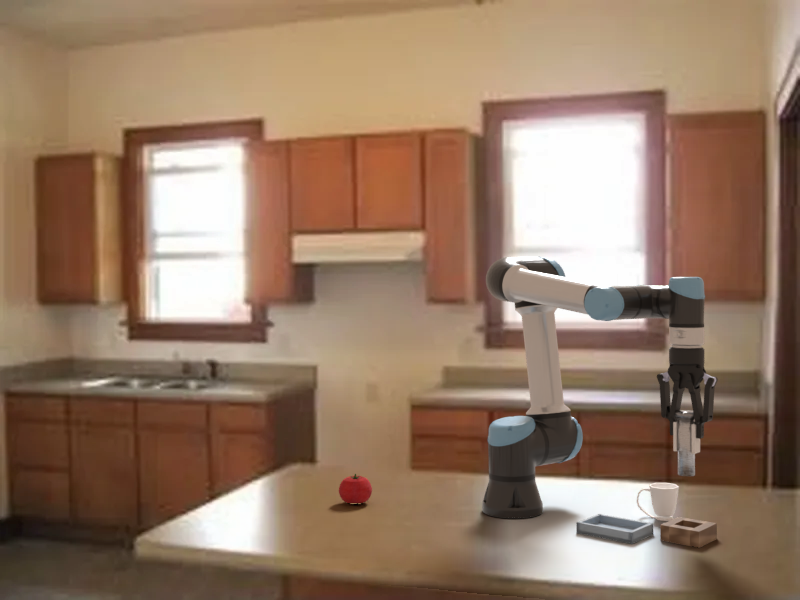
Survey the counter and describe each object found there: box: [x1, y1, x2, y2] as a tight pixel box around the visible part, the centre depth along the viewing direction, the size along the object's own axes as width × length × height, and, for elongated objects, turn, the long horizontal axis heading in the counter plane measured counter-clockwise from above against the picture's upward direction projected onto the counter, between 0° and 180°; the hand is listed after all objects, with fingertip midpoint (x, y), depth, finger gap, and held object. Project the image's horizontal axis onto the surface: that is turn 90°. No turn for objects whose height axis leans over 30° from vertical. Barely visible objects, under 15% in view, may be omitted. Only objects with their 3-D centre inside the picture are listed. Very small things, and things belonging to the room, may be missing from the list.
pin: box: [675, 409, 696, 477], centre depth 205 cm, size 5×5×14 cm
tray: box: [575, 513, 654, 545], centre depth 211 cm, size 14×10×2 cm
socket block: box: [659, 516, 718, 549], centre depth 205 cm, size 9×9×4 cm
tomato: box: [338, 473, 373, 504], centre depth 244 cm, size 9×9×8 cm
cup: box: [636, 482, 680, 522], centre depth 224 cm, size 7×10×8 cm
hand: (686, 451), depth 205 cm, fingers closed on pin, 4 cm apart
